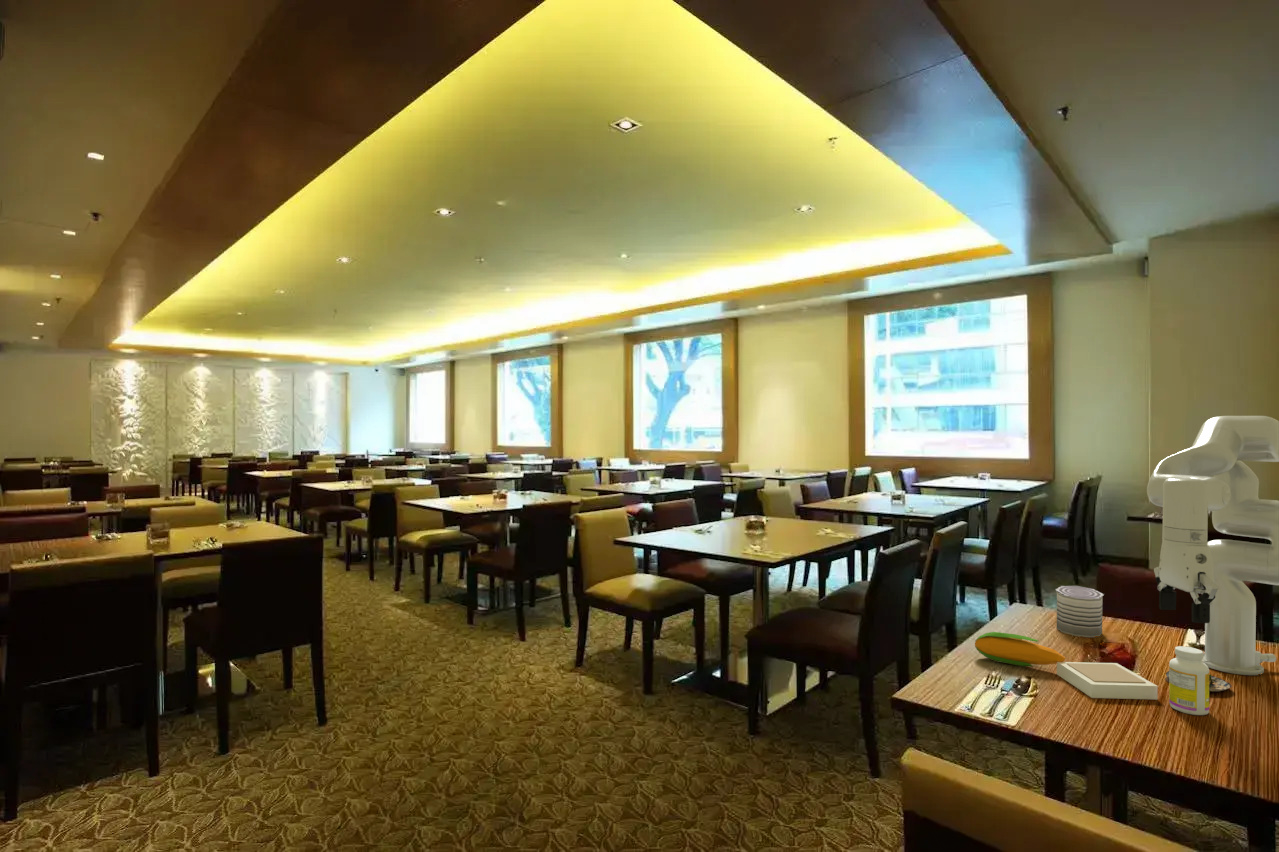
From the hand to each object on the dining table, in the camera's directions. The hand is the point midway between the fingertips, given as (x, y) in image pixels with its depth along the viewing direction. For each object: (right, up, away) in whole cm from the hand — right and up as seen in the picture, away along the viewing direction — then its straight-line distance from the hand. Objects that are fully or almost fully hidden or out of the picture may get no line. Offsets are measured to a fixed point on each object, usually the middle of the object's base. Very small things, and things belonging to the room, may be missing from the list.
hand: (1183, 615), depth 145 cm
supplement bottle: (+1, -20, -1) cm, 20 cm away
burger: (+13, -20, +13) cm, 27 cm away
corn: (-21, -20, +26) cm, 38 cm away
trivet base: (-9, -20, +12) cm, 25 cm away
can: (+12, -20, +53) cm, 58 cm away
